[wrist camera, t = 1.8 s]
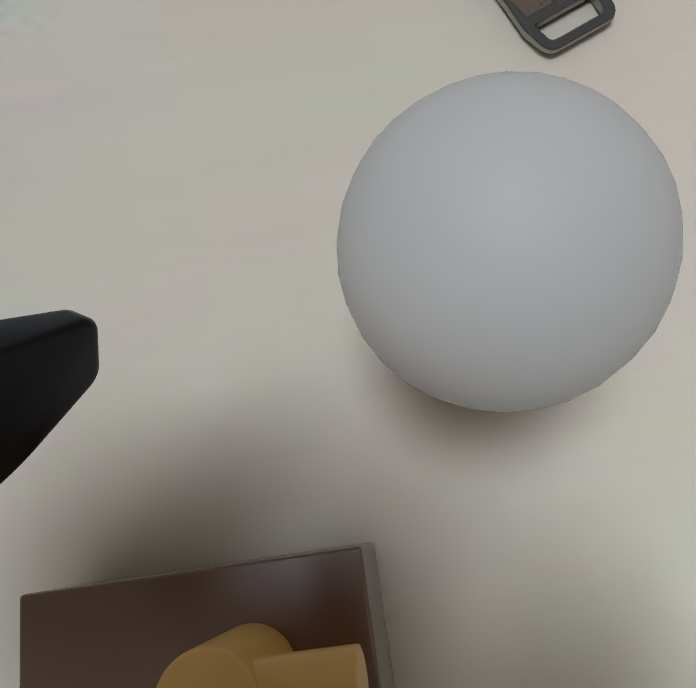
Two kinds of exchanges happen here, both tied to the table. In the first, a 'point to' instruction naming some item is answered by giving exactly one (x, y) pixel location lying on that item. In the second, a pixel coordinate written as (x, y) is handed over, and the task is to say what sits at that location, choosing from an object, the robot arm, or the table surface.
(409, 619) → the table surface
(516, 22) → the strap clip
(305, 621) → the brown rectangular block
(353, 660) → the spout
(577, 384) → the lightbulb
